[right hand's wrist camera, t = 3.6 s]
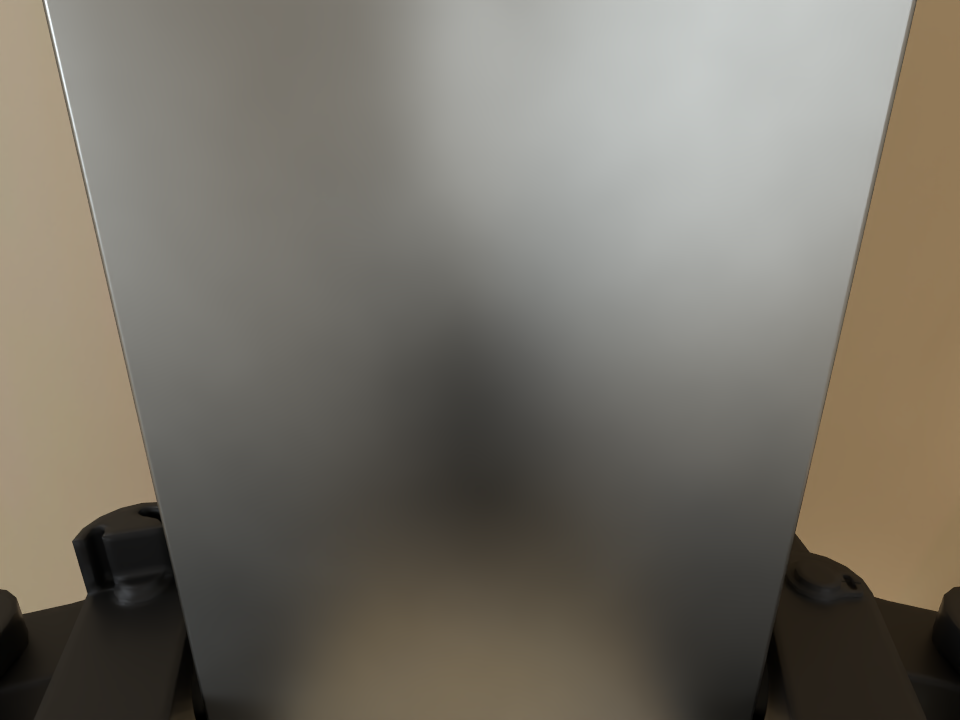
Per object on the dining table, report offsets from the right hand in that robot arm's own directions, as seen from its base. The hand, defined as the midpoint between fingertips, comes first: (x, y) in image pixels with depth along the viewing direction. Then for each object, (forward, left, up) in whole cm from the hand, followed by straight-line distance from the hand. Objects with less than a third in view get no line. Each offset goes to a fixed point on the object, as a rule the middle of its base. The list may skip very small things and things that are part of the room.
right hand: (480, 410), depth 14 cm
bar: (+9, 0, -1) cm, 9 cm away
